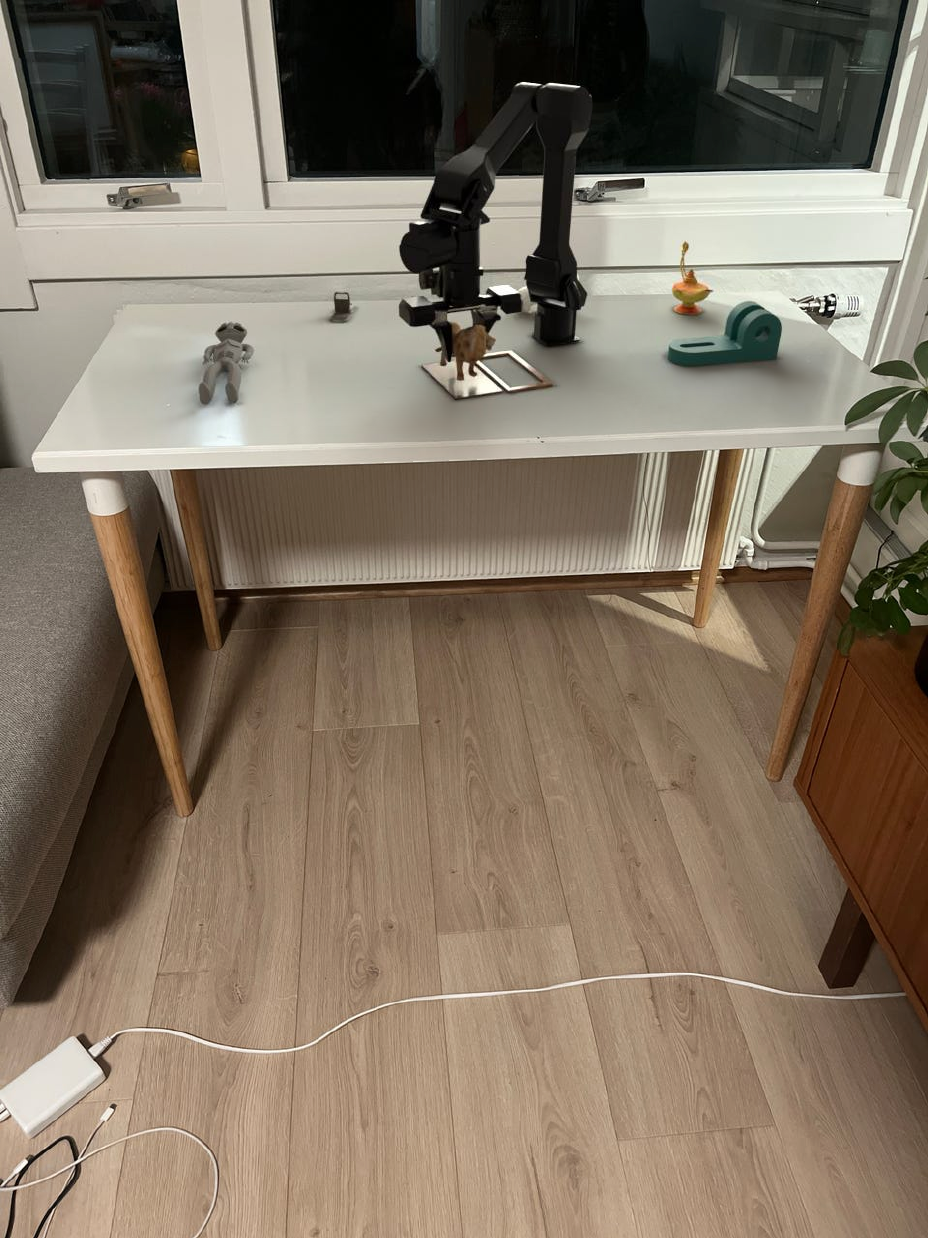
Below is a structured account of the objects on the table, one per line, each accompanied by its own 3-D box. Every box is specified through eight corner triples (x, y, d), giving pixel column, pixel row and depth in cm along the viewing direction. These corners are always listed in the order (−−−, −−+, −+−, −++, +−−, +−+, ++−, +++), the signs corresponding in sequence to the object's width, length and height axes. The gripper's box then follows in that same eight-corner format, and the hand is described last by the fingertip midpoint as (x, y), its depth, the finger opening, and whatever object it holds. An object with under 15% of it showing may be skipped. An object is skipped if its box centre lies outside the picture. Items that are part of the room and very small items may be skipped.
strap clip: (339, 307, 185) (338, 284, 183) (355, 307, 185) (353, 284, 182) (330, 321, 178) (328, 298, 176) (346, 322, 178) (344, 298, 175)
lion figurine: (498, 382, 151) (500, 326, 146) (469, 389, 149) (470, 333, 143) (448, 350, 161) (448, 297, 155) (421, 357, 159) (420, 303, 153)
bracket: (758, 344, 168) (766, 299, 164) (776, 358, 163) (785, 312, 158) (661, 352, 165) (667, 306, 161) (676, 367, 160) (683, 319, 155)
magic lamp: (686, 329, 175) (695, 267, 168) (659, 298, 189) (666, 240, 183) (723, 328, 175) (733, 266, 169) (693, 297, 190) (701, 239, 183)
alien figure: (187, 381, 144) (207, 319, 164) (193, 411, 147) (212, 346, 167) (242, 379, 145) (255, 317, 164) (246, 409, 148) (258, 345, 167)
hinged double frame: (511, 352, 165) (511, 349, 165) (552, 385, 153) (552, 383, 153) (420, 365, 160) (420, 363, 160) (456, 401, 148) (456, 398, 148)
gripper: (496, 238, 153) (494, 335, 163) (385, 251, 148) (389, 350, 157) (526, 256, 145) (522, 357, 154) (409, 271, 139) (413, 374, 149)
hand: (461, 359), depth 154 cm, fingers closed on lion figurine, 4 cm apart
